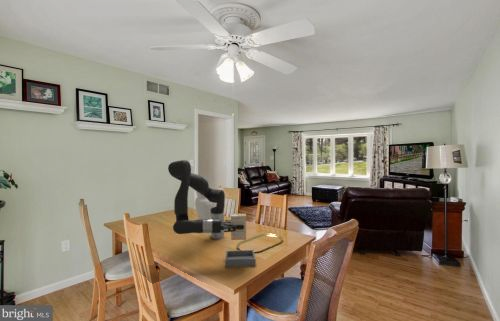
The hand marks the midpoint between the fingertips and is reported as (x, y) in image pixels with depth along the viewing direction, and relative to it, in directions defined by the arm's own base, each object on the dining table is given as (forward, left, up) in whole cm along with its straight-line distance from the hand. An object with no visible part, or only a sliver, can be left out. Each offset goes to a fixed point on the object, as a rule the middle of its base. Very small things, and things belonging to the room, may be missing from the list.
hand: (243, 225), depth 130 cm
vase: (-68, -30, -20) cm, 77 cm away
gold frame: (-24, +12, -20) cm, 34 cm away
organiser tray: (0, -2, -20) cm, 20 cm away
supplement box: (0, -3, -7) cm, 8 cm away
